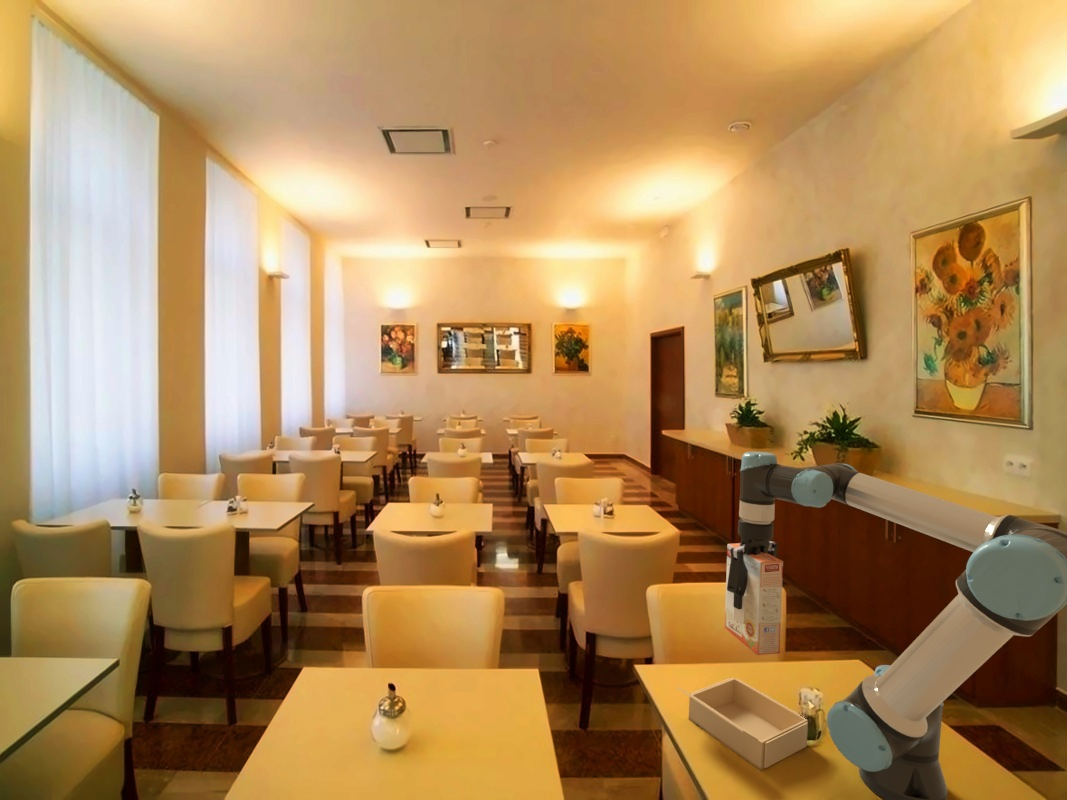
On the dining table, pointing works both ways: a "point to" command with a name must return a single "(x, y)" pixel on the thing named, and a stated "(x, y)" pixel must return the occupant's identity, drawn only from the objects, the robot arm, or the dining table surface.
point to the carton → (749, 722)
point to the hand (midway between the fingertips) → (751, 618)
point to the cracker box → (758, 603)
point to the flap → (718, 714)
